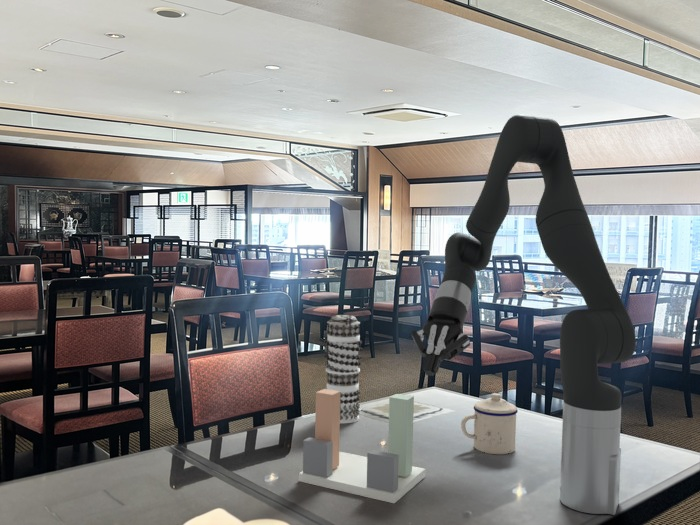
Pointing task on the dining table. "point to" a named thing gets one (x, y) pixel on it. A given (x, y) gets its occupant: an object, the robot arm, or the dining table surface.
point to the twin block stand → (357, 472)
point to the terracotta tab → (328, 420)
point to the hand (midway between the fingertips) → (429, 373)
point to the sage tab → (401, 431)
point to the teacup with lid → (493, 425)
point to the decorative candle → (344, 364)
